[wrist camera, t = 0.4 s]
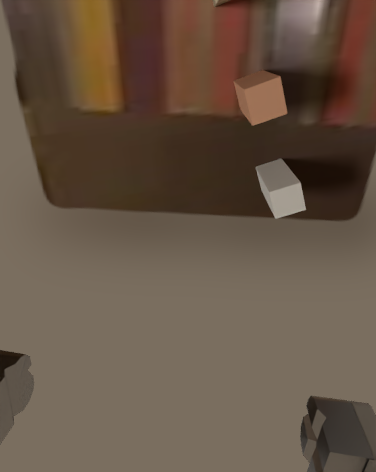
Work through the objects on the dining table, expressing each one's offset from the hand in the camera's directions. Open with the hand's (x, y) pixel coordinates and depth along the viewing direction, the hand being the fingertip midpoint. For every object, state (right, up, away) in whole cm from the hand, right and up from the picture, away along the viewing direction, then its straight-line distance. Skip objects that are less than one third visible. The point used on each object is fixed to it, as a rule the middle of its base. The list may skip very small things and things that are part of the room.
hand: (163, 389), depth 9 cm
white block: (+15, +15, +46) cm, 51 cm away
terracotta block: (+10, +26, +40) cm, 49 cm away
